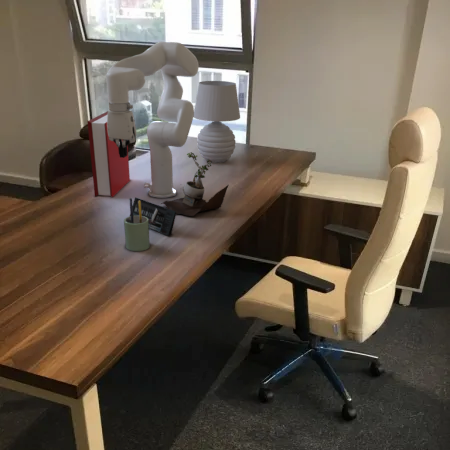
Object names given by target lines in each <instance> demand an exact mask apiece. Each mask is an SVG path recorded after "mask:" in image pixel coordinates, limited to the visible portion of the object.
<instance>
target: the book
mask: <svg viewBox="0 0 450 450" xmlns="http://www.w3.org/2000/svg"><path fill="white" fill-rule="evenodd" d="M108 111H109V110H107V111H105V112H103V113H101V114H99V115H97V116H95V117H93V118H91V119H89V120H87V130H88V131H87V132H88V141H89V142H88V143H89V152H90V162H91V171H92V180H93V182H92V183H93V193H94V197H96V196H109V197H111V198H114V196H115V195H117V194H118V193H119V192H120V191H121V190H122V189H123V188H124V187H126V186H127V184H128V183H130V181H131V178H130V177H131V176H130V162H129V153H128V154H127V156H126V157H125V158H120V155H119V149H118V147H117V145H116V143H115V142H114V141H111V140H109V136H108V131H107V116H108ZM122 143H123V139H122ZM127 151H128V152H129V145H128V146H127Z"/></svg>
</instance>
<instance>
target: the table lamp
mask: <svg viewBox="0 0 450 450" xmlns="http://www.w3.org/2000/svg"><path fill="white" fill-rule="evenodd" d="M238 96H239V95H238V90H237V83H236V82H234V81H233V82H232V81H227V80H226V81H225V80H203V81H199V82H198V86H197V92H196V97H195V104H194V116H193V119H196V120H200V121H205V122H210V123H208V124H206V125H204V126H203V127H202V128H201V129H200V131H199V133H198V134H197V139H196V143H197V144H196V148H197V150H198V154H200V155H201V157H202V158H203V159H204V160H205V161H206V162H207V161H208V160H210V161H212V163H224V162H226V161H227V160H229V159H230V158H231V157H232V155H233V154H234V152H235V149H236V143H237V141H236V135H235V134H234V132H233V130H232V129H231V128H230V126H228V125H227V124H225V123H223V122H235V121H238V120H240V119H241V112H240V104H239V98H238Z"/></svg>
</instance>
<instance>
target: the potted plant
mask: <svg viewBox="0 0 450 450" xmlns="http://www.w3.org/2000/svg"><path fill="white" fill-rule="evenodd" d="M186 156H187V157H188V158H192V160H193V162H194V164H195V165H196V166H197V168H198V169H197V171H195V173H194V176H193V178H192V180H191V181H190V180H189V181H186V182H185V185H184V188H183V189H182V192H183V194H184V197H178V198H175V199H172V200H164V201H163V202H161V203H160V205H162V204H163V205H164V206H165V208H167V209H170V210H173V211H176V215H184V216H186V217H194V216H195V215H196V214H198V213H200V212H204V211H209V210H218V209H221V207H222V205H223V202H224V200H225V197H226V193H227V190H228V187H229V186H230V185H229V184H227V185H226V186H225V187H223V188H221V189H220V190H219V191H217V192H216V193H215V194H214V195H213V196H212V197H210V198H209V199H208V201H206V199H204V194H205V186H204V184H203V181H202V179H205V178H206V176H205V175H206V173H207V171H209V167H212V164H213V162H212V161H210V160H208V161H207V160H206V163H207V164H205V165H201V166H200V164H199V162H197V160H198V159H197V157H198V155H195V153H194V152H192V151H191V152H188V153H187V154H186Z"/></svg>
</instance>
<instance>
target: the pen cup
mask: <svg viewBox="0 0 450 450" xmlns="http://www.w3.org/2000/svg"><path fill="white" fill-rule="evenodd" d="M138 204H139V216H133V198H132V197H129V213H130V214H129V216H127V217H125V218H124V219H123V229H124V239H125V240H124V241H125V248H126V249H127V250H128V251H130V252H131V251H132V252H143V251H146V250H148V249H149V248H150V247H151V242H150V228H149V220H148V218H147V217H144V216H142V215H141V201H140V200H139V201H138ZM130 215H131V216H130Z"/></svg>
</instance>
